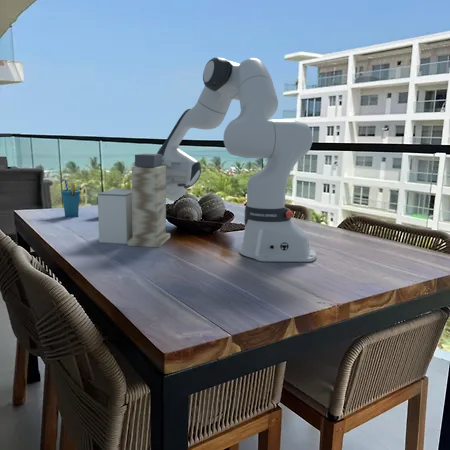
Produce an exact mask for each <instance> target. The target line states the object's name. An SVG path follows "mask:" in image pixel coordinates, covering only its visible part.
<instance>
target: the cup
mask: <svg viewBox="0 0 450 450" xmlns="http://www.w3.org/2000/svg"><path fill="white" fill-rule="evenodd" d="M60 182H64V185H65V189H61V190H60V193H61V195H62V196H61V197H62V201H63V210H64V211H63V212H64V217H65V218H68V217H73V218H78V217H79V211H80V210H79V208H80V207H79V206H80V205H79V204H80V194H81V190H80V189H75V182H72V183H71V187H70V189H69V186H68V181H67V179H66V178H62V179H60Z"/></svg>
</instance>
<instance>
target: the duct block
mask: <svg viewBox="0 0 450 450" xmlns="http://www.w3.org/2000/svg"><path fill="white" fill-rule="evenodd" d="M97 197H98V203H97V215H98V216H97V217H98V242H99V243H103V244H104V243H106V244H123V245H125V244H126V245H127V241H128V240H129V239H131V238H132V237H133V229H132V188H112V189H109V190H104V191H102V192H99V193H97Z"/></svg>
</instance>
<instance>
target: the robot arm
mask: <svg viewBox="0 0 450 450" xmlns="http://www.w3.org/2000/svg"><path fill="white" fill-rule="evenodd" d="M202 80H203V84H204V87H203V89H202V90H201V93H200V95H199V97H198V100H197V102H196V103H195V105H194V106H193V107H192V108H188V109H186V110H185V111H184V112H183V113H182V114H181V115H180V117H179V118H178V120H177V121H176V123H175V125H174V127H173V128H172V130H171V132H170V133H169V135H168V136H167V138H166V140H165V141H164V143H163V144H162V145H161V146H160V148H158V149H159V150H158V151H157V152H156V154H162V156H164V157H162V165H161V166H166V199H168V200H169V201H173V202H176V200H178V199H179V198H180V197H182V196H183V195H186V194H187V193H186V192H187V190H188V189H189V188H191V187H192V186H194V185H195V184H196V183H197V182H198V180H199V179H200V177H201V174H202V166H201V165H202V164H201V162H200V161H198V160H197V158H194V157H193V156H191V155H189V154H188V153H186V152H185V151H183V150H182V149H181V148H180V144H181V142H182V141H183V139H184V137H185V136H186V134H187V133H188V131H189V130H190V129H199V130H213V129H216V128H217V127H220V125H221V124H222V123H223V121H224V119H225V117H226V115H227V113H228V110H229V108H230V105H231V103H232V101H233V100H236V101H239V105H240V113H239V115H238V116H237V117H236V118H234V119H232V120H231V121H229V123H227V126H226V128H225V130H224V133H223V144H224V147H225V150H227V152H228V153H229V154H230V155H232V156H236V157H239V158H244V159H267V160H266V164H265V165H264V166H263V168H262V169H260V170H258V171H257V172H256V171H255V173H253V174H251V176H249V178H248V180H247V186H246V187H247V188H246V189H247V190H246V205H245V206H244V214H243V216H244V217H243V219H244V220H243V221H244V231H243V233H244V234H243V237H242V243H241V246H240V249H239V254H241V255H242V256H245V257H248V258H251V259H254V260H256V261H258V262H283V263H284V262H285V263H286V262H291V263H293V262H296V263H297V262H299V263H300V262H301V263H302V262H307V263H308V262H309V263H310V262H314V261H315V260H316V259H317V252H316V250H314V248H312V247H310V242H309V238H308V235H307V233H306V232H305V231H304V230H303V229H302V228H301V227H299V226H298V225H297V224H296V223H295V222H294V221H292V220H291V219H292V218H293V216H294V212H293V211H292V210H291V209H290V208H288V207H286V206H285V204H286V193H287V184H288V179H289V177H290V174H291V172H292V171H293V168H294V167H295V165H296V164H297V163H298V161H300V160H301V158H304V157H305V156H306V155H307V154H308V153H309V152H310V150H311V147H312V144H313V132H312V130H311V128H310V126H309V125H308V124H307V123H305V122H301V121H298V120H294V119H279V118H276V119H275V118H272V117H273V116H274V115H275V113H276V112H277V111H278V107H279V100H278V96H277V92H276V88H275V86H274V82H273V79H272V76H271V74H270V72H269V70H268V68H267V66H266V65H265V64H264V62H263V61H262V60H261V59H258V58H255V57H250V58H246V59H244V60H243V61H241V62H240V63H239V62H235V61H233V60H228V59H227V58H224V57H213V58H211V59H210V60H208V62H207V63H206V64H205V66H204V69H203V73H202ZM132 167H135V161H133V165H132ZM178 201H179V200H178Z"/></svg>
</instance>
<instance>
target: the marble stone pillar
mask: <svg viewBox="0 0 450 450" xmlns="http://www.w3.org/2000/svg"><path fill="white" fill-rule="evenodd" d="M131 189H132V229H133V237H132V238H131V239H129V240H128V241H127V244H126V245H127V246H129V247H130V246H131V247H132V246H133V247H148V248H160V247H161V246H162V245H164V243H166V242H167V241H168V240H169V239H170V238H171V232H167V206H166V205H167V198H166V166H157V167H137V166H135V167H133V166H131Z"/></svg>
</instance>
